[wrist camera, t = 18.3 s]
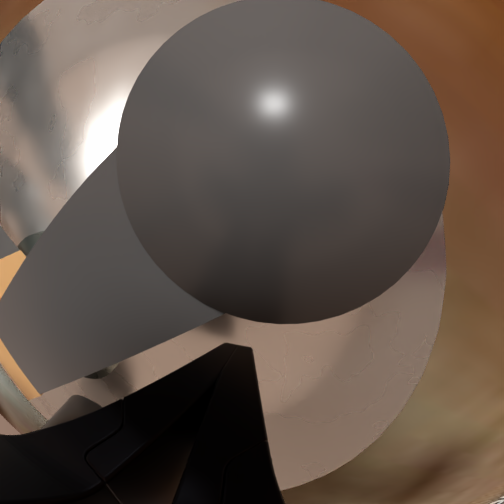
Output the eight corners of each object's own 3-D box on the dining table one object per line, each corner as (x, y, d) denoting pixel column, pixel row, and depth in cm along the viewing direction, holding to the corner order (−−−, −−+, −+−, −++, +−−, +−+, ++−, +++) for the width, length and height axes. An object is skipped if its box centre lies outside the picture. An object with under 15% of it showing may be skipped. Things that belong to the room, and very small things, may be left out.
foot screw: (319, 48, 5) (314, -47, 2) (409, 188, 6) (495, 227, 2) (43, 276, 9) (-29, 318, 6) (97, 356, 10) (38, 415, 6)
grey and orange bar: (68, 382, 11) (23, 429, 8) (132, 427, 11) (93, 484, 7) (74, 458, 15) (51, 488, 12) (115, 485, 15) (94, 518, 12)
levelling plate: (-36, 70, 9) (-54, 70, 7) (449, -25, 4) (466, -48, 3) (16, 394, 17) (5, 405, 15) (328, 507, 12) (326, 529, 11)
